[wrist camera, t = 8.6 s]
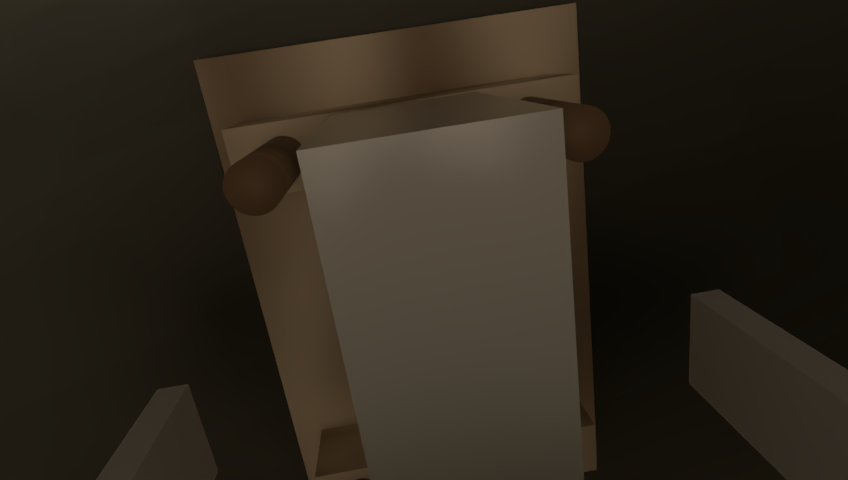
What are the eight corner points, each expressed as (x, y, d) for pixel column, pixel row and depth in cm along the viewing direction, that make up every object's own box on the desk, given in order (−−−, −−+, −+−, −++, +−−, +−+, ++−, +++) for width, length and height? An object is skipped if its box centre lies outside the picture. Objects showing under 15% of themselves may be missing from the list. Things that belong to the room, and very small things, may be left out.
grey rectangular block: (474, 91, 14) (562, 107, 8) (518, 485, 19) (596, 711, 12) (332, 113, 14) (296, 151, 8) (410, 506, 19) (430, 746, 12)
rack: (564, 6, 17) (700, -40, 10) (587, 443, 23) (684, 610, 16) (203, 61, 17) (77, 53, 10) (320, 494, 22) (295, 690, 15)
